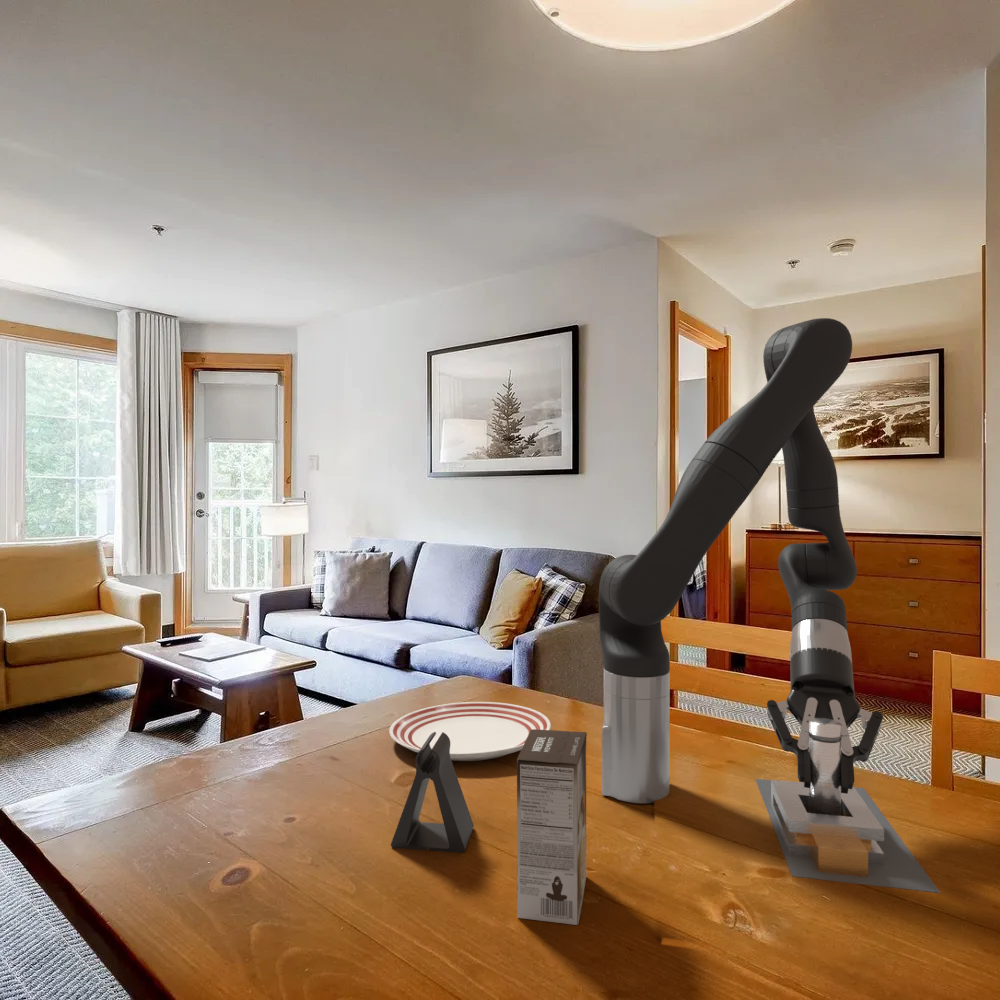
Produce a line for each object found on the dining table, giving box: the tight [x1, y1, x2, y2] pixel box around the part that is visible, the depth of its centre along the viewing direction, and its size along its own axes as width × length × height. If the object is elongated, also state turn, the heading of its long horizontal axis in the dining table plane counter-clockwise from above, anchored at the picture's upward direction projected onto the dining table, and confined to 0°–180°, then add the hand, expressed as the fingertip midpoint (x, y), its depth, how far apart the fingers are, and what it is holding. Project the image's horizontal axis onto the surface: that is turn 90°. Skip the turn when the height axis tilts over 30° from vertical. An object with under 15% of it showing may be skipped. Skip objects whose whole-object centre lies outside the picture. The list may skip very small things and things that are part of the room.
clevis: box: [770, 779, 884, 877], centre depth 81 cm, size 10×14×4 cm
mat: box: [755, 778, 941, 894], centre depth 85 cm, size 14×26×1 cm, turn 168°
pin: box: [809, 718, 842, 816], centre depth 82 cm, size 4×4×12 cm
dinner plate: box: [388, 701, 552, 762], centre depth 116 cm, size 28×27×3 cm
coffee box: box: [516, 729, 588, 926], centre depth 71 cm, size 9×6×16 cm
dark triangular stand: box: [390, 732, 475, 854], centre depth 83 cm, size 9×6×12 cm, turn 82°
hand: (826, 787), depth 80 cm, fingers closed on pin, 3 cm apart
